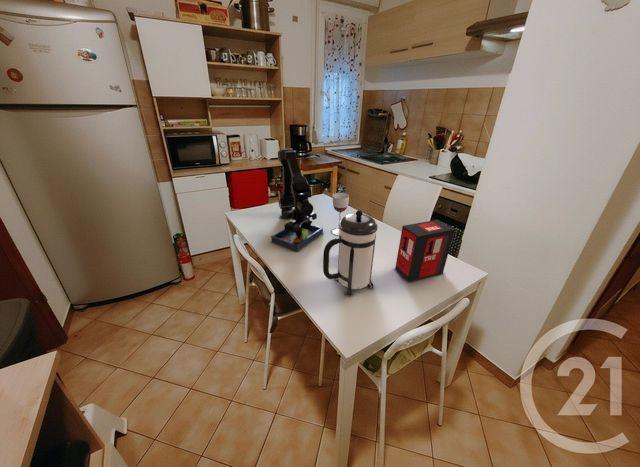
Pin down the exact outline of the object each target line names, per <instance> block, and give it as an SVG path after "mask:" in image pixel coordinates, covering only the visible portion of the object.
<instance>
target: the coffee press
mask: <svg viewBox="0 0 640 467" xmlns="http://www.w3.org/2000/svg"><path fill="white" fill-rule="evenodd" d="M339 228H340V233H339V235H338V238H333V239H331V240H330V241H328V242H327V243H326V244H325V246H324V249H323V255H322V272H323V275H324V277H325V278H326V279H328V280H335V281H338V282H339V283H340V284H341V285H342V286H343V287H345V288H346V293H345V294H346V295H347V296H351V294H352V290H361V289H363V288H366V287H367V288H369V289H370V290H372V289H373V288H374V283H373V282H372V274H373V264H374V257H375V247H376V239H377V235H376V233H377V231H378V228H379V226H378V223H377V222H376V220H375V219H374V218H373V217H372V216H370V215H369V214H365V213H363V211H362V210H360V209H358V210H356V212H355V213H350V214H347V215H345V216H344V217H342V218H341V221H340V223H339V222H338V229H339ZM336 245H338V257H337V258H338V260H337V272H336V273H330V252H331V249H332V247H334V246H336Z"/></svg>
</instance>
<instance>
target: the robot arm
mask: <svg viewBox="0 0 640 467" xmlns="http://www.w3.org/2000/svg"><path fill="white" fill-rule="evenodd" d="M297 155H298V154H297V150H293V148H280V149H279V150H278V151H277V158H278V161H279V163H280V164H281V165H282V192H280V194H279V196H280V198H279V199H278V207H279V209H280V212H281V215H279V218H281V219H285V220H289V221H288V222H286V223H284V225H283V228H284V229H285V230H288V231H291V232H295V233H296V235H297V237H298V238H299V239H300V238H301V234H302V230H303V228H304V229H307V230H308V229H309V227H310V225H312V223H313V221H315V220H316V219H318V214H317V213H316V212H313V211H314V206H313V204H312V203H311V202H310V200H309V198H312V194H313V193H312V189H311V185H310V183H309V182H308V180H307V178H306V177H305V176H304V175H303V174H302V171H301V168H300V164H299V161H298V157H297ZM290 219H291V220H290ZM301 224H302V227H301Z"/></svg>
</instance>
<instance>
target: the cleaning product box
mask: <svg viewBox="0 0 640 467" xmlns="http://www.w3.org/2000/svg"><path fill="white" fill-rule="evenodd" d="M455 231H456V229H455V228H453V227H452V226H450V225H448V224H446V223H444V222H443V221H442V220H440V219H434V220H428V221H421V222H417V223H410V224H404V225H402V227H401V232H400V238H399V244H398V251H397V257H396V261H395V269H394V270H395V271H396V272H397V273H398V274H399V275H400V276H401V277H402V278H403V279H405V280H406V282H407V283H411V282H415V281H419V280H422V279H423V280H424V279H426V278H431V277H435V276H439V275H442V274H444V271H445V267H446V264H447V260H448V256H449V252H450V249H451V245H452V242H453V238H454V234H455Z"/></svg>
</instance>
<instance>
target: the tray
mask: <svg viewBox="0 0 640 467" xmlns="http://www.w3.org/2000/svg"><path fill="white" fill-rule="evenodd" d="M301 227H302V224H301ZM323 234H324V227H321V226H318V225H314V224H311V225H310V227H309V229H308V237H307V238H306V239H304V240H303V241H301V242H300V243H298V244H294V243H293V239H296V238H295V232H291V231H288V230H285V229H282V230H280V231H278V232H276V233H275V234H272V235H271V243H273V244H275V245H278V246H280V247H282V248H283V247H284V248H286V249H288V250H291V251H294V252H296V253H297V252H299V251H301V250H302V249H303V248H305V247H306V246H307V245H309V244H311V243H312V242H314V241H315V240H316V239H317V238H319V237H320V236H321V235H323ZM284 238H290V240H291V242H288V241H285V240H283V239H284Z"/></svg>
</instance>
